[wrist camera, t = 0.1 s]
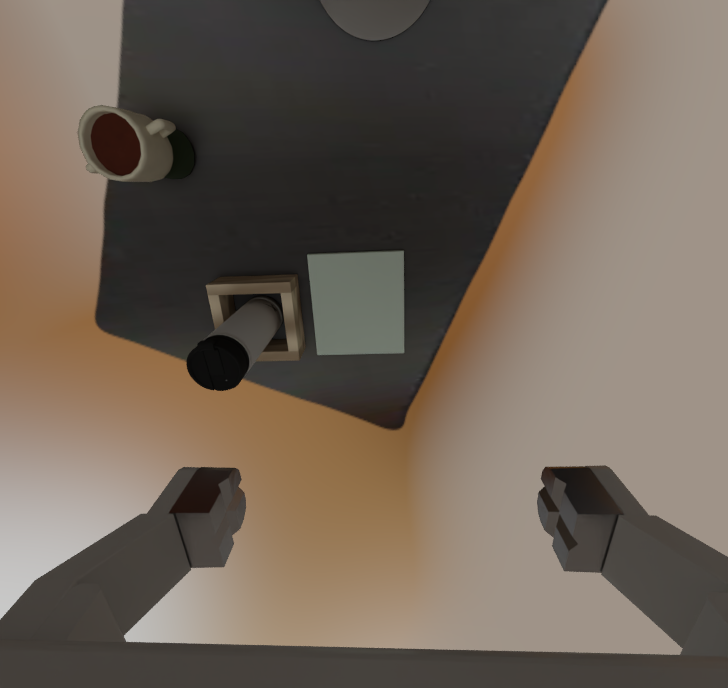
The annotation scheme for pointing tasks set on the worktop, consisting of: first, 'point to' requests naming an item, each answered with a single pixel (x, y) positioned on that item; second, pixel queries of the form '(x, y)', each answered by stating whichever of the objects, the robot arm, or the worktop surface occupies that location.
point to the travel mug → (235, 344)
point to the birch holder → (284, 284)
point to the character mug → (133, 146)
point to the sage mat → (358, 301)
